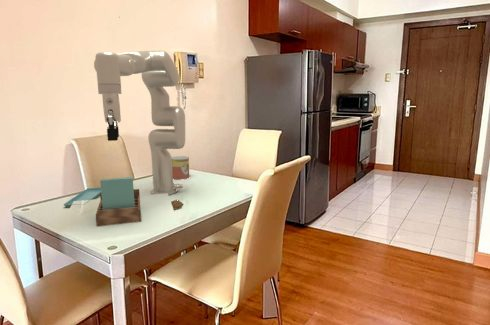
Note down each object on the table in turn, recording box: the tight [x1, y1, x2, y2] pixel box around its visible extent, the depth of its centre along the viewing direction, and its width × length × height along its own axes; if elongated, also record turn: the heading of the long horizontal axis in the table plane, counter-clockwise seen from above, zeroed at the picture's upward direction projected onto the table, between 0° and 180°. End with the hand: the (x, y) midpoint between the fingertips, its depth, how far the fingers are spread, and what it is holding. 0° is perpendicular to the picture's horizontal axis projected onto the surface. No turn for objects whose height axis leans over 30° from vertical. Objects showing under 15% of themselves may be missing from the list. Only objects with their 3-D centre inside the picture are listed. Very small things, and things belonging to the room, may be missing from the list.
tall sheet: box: [99, 176, 135, 210], centre depth 127 cm, size 11×2×16 cm, turn 107°
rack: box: [95, 188, 142, 227], centre depth 134 cm, size 15×20×9 cm
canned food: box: [171, 155, 190, 181], centre depth 204 cm, size 11×11×12 cm
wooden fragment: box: [170, 199, 184, 211], centre depth 148 cm, size 26×11×1 cm, turn 167°
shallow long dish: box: [63, 187, 101, 209], centre depth 162 cm, size 26×9×2 cm, turn 3°
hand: (113, 138), depth 123 cm, fingers open, 9 cm apart
